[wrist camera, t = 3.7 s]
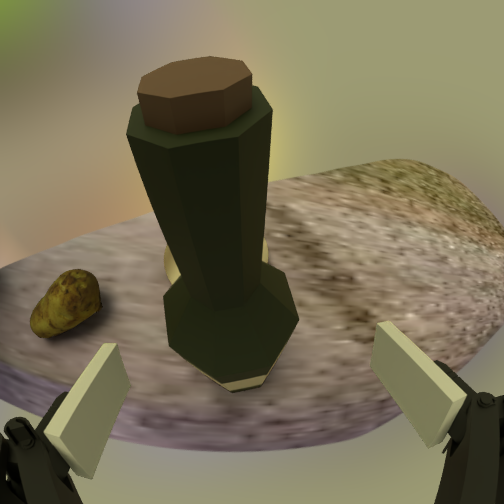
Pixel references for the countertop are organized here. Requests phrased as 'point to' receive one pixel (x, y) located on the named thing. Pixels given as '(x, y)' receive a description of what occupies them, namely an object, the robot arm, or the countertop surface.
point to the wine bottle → (213, 215)
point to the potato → (66, 303)
